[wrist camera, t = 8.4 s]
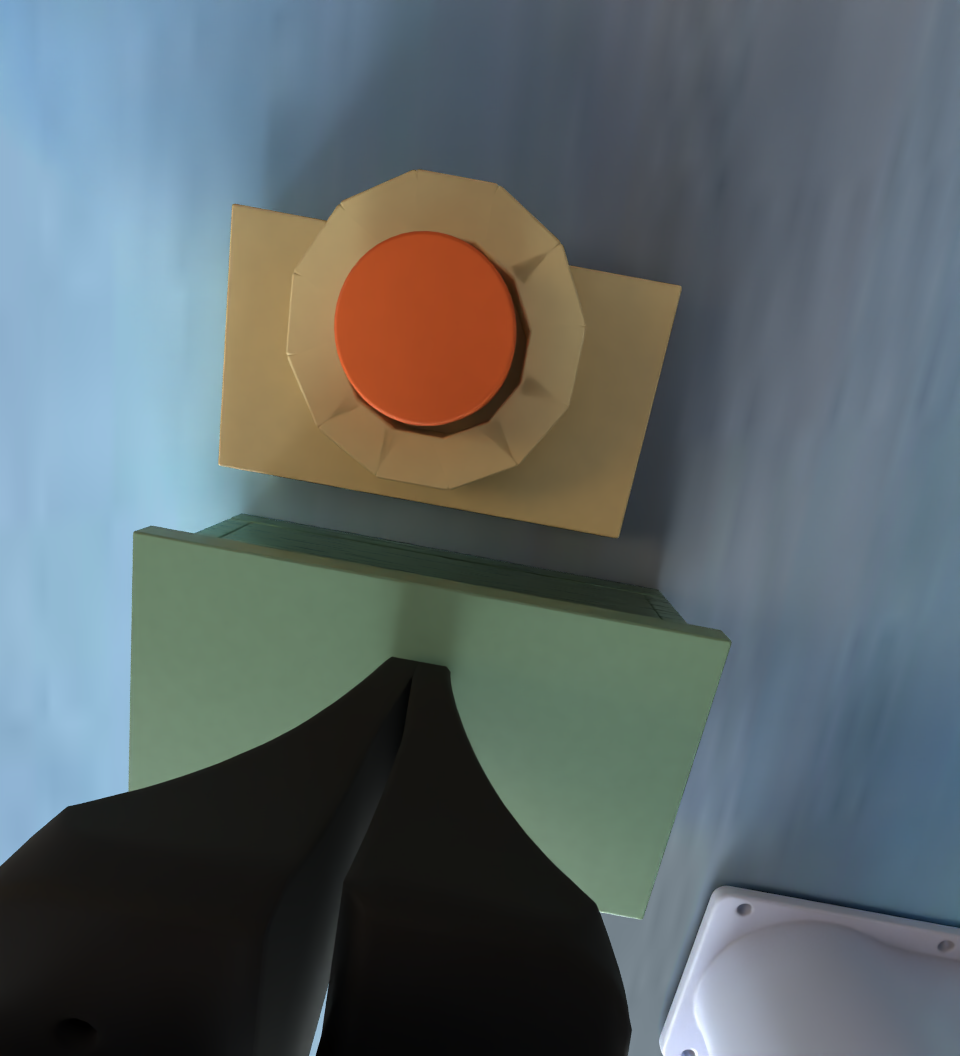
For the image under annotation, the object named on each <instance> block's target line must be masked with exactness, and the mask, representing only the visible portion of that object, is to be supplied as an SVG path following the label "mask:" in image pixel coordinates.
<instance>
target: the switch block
mask: <svg viewBox="0 0 960 1056" xmlns="http://www.w3.org/2000/svg"><path fill="white" fill-rule="evenodd" d="M413 231H433V232H440V233H444V234H448V235H452V236H454V237H456V238H459V239H461V240H463V241H465V242H467V243H468V244H470V245H472V246H473V247H475V248H476V249H477V250H479V251H480V252H481V253H482V254H484V255H485V256H486V257H487V258H488V260H489V261H490V262H491V263H492V264H493V265H494V266H495V268H496V269H497V270H498V272H499V273H500V275H501V276H502V278H503V280H504V282H505V284H506V285H507V288H508V290H509V293H510V295H511V298H512V301H513V305H514V309H515V316H516V324H517V337H516V345H515V351H514V356H513V360H512V364H511V368H510V370H509V373H508V375H507V378H506V380H505V381H504V383H503V385H502V387H501V388H500V390H499V391H498V392H497V394H496V395H495V396H494V397H493V398H492V399H491V400H490V402H489V403H487V404H486V405H485V406H484V407H483V408H481V409H480V410H478V411H477V412H475V413H474V414H472V415H470V416H468V417H465V418H463V419H460V420H458V421H454V422H451V423H448V424H443V425H437V426H418V425H411V424H407V423H403V422H399V421H397V420H394V419H392V418H389V417H388V416H386V415H384V414H382V413H380V412H379V411H377V410H376V409H375V408H373V407H372V406H371V405H369V404H368V403H367V402H366V401H365V400H364V399H363V398H362V397H361V396H360V395H359V393H358V392H357V391H356V390H355V389H354V387H353V386H352V384H351V383H350V381H349V379H348V378H347V376H346V374H345V372H344V370H343V368H342V366H341V363H340V360H339V357H338V354H337V349H336V344H335V335H334V316H335V310H336V304H337V300H338V297H339V293H340V290H341V288H342V286H343V284H344V281H345V279H346V278H347V276H348V274H349V273H350V271H351V269H352V268H353V267H354V266H355V264H356V263H357V262H358V261H359V259H360V258H361V257H362V256H364V255H365V254H366V253H367V252H368V251H369V250H370V249H372V248H373V247H374V246H376V245H377V244H379V243H381V242H382V241H384V240H386V239H388V238H390V237H393V236H396V235H399V234H402V233H408V232H413ZM681 290H682V287H681V286H679V285H674V284H668V283H663V282H657V281H652V280H647V279H641V278H636V277H630V276H625V275H619V274H614V273H609V272H603V271H598V270H592V269H587V268H581V267H576V266H570V265H569V264H568V260H567V257H566V253H565V250H564V247H563V245H562V244H561V243H560V241H559V240H558V239H557V238H556V237H555V236H554V235H553V234H552V233H551V232H550V231H549V230H548V229H547V228H546V227H544V226H543V225H542V224H541V223H540V222H539V221H538V220H537V219H536V218H535V217H534V216H533V215H532V214H531V213H530V212H529V211H527V210H526V209H525V208H524V207H523V206H522V205H521V204H520V203H519V202H518V201H517V200H516V199H515V198H514V197H513V196H512V195H511V194H509V193H508V192H507V191H506V190H505V189H504V188H503V187H501V186H498V184H496V183H492V182H486V181H481V180H475V179H470V178H465V177H459V176H454V175H448V174H443V173H437V172H432V171H427V170H421V169H418V170H417V171H416V170H411V171H409V172H407V173H404V174H402V175H400V176H398V177H395V178H393V179H391V180H389V181H386V182H384V183H382V184H379V185H377V186H375V187H373V188H370V189H368V190H366V191H363V192H361V193H359V194H357V195H354V196H352V197H350V198H347V199H345V200H343V201H341V204H339V205H337V207H336V208H335V210H334V211H333V213H332V214H331V216H330V217H329V219H328V220H327V221H326V220H320V219H315V218H310V217H304V216H299V215H293V214H288V213H282V212H277V211H271V210H266V209H261V208H255V207H250V206H244V205H239V204H233V205H232V217H231V236H230V255H229V274H228V292H227V311H226V330H225V349H224V368H223V386H222V405H221V424H220V443H219V462H218V463H219V465H220V466H224V467H230V468H235V469H241V470H246V471H251V472H257V473H262V474H268V475H273V476H279V477H284V478H290V479H295V480H300V481H306V482H311V483H317V484H322V485H328V486H333V487H339V488H344V489H349V490H355V491H360V492H366V493H371V494H377V495H382V496H388V497H393V498H399V499H404V500H409V501H415V502H420V503H426V504H431V505H437V506H442V507H448V508H453V509H458V510H464V511H469V512H475V513H480V514H486V515H491V516H497V517H502V518H507V519H513V520H518V521H524V522H529V523H535V524H540V525H546V526H551V527H557V528H562V529H567V530H573V531H578V532H584V533H589V534H595V535H600V536H606V537H611V538H618V537H619V535H620V531H621V527H622V523H623V519H624V515H625V511H626V507H627V503H628V499H629V496H630V492H631V488H632V484H633V480H634V476H635V472H636V468H637V464H638V460H639V456H640V452H641V448H642V444H643V440H644V436H645V432H646V428H647V424H648V421H649V417H650V413H651V409H652V405H653V401H654V397H655V393H656V389H657V385H658V381H659V377H660V373H661V369H662V365H663V361H664V357H665V353H666V349H667V345H668V342H669V338H670V334H671V330H672V326H673V322H674V318H675V314H676V310H677V306H678V302H679V298H680V294H681Z"/></svg>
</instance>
